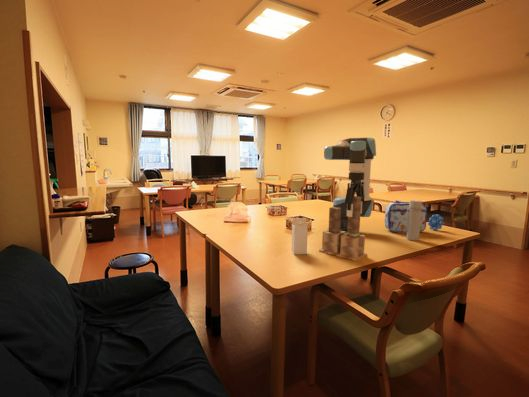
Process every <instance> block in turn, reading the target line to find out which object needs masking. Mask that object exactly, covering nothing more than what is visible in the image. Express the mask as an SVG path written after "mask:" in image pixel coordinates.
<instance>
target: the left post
mask: <svg viewBox="0 0 529 397" xmlns="http://www.w3.org/2000/svg"><path fill="white" fill-rule="evenodd" d="M328 211H329V213H328V230H329V232H330V233H335V234H337V233H340V220H341V208H338V207H333V206H331V207H329V210H328Z"/></svg>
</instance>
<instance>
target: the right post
mask: <svg viewBox="0 0 529 397" xmlns="http://www.w3.org/2000/svg"><path fill="white" fill-rule="evenodd" d="M352 204H353V213H352V217H348V229H347V232H346V233H347V236H350V237H355V238H356V237H359V235H361V232H360V226H361V225H360V224H361V217H360V212H361V197H358V196H356V195H354V198H353V202H352Z"/></svg>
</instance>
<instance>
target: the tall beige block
mask: <svg viewBox="0 0 529 397" xmlns="http://www.w3.org/2000/svg"><path fill="white" fill-rule="evenodd" d="M409 202H410V203H409V208H410V209H409V208H407V212H408V209H409V215H408V214H407V215H406V217H407V221H408V227H407V230H406V231H407V233H406V239H407V240H408V241H411V242H417V241H419V240H420V233H421V232H420V223H421V212H422V210H421V209H422V204H423V203H422V202H423V201H422V200H416V199H410V200H409ZM405 222H406V220H405ZM404 227H405V225H404ZM406 231H405V230H404V232H406Z"/></svg>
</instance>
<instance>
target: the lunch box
mask: <svg viewBox="0 0 529 397" xmlns="http://www.w3.org/2000/svg"><path fill="white" fill-rule="evenodd" d="M409 203H410V201H407V202H406V201H400V200H397V199H396V200H395V202H388V203H387V204H386V205H385V208H384V212H385V213H384V228H385V229H387V230H389V231H390V232H392V233H400V234H401V233H406V234H407V231H406V230H407V227H408V221H407V217H406V215H407V214H408V215H409V209H410V208H409ZM407 208H409V209H408V212H407ZM421 210H422V212H421V223H420V233H422V232H424V231H426V229H427V228H426V227H427V219H428V218H427V217H428V207H427V206H426V204H423V203H422V209H421ZM405 220H406V222H405ZM404 225H405V227H404ZM404 230H405V231H406V232H404Z"/></svg>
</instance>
